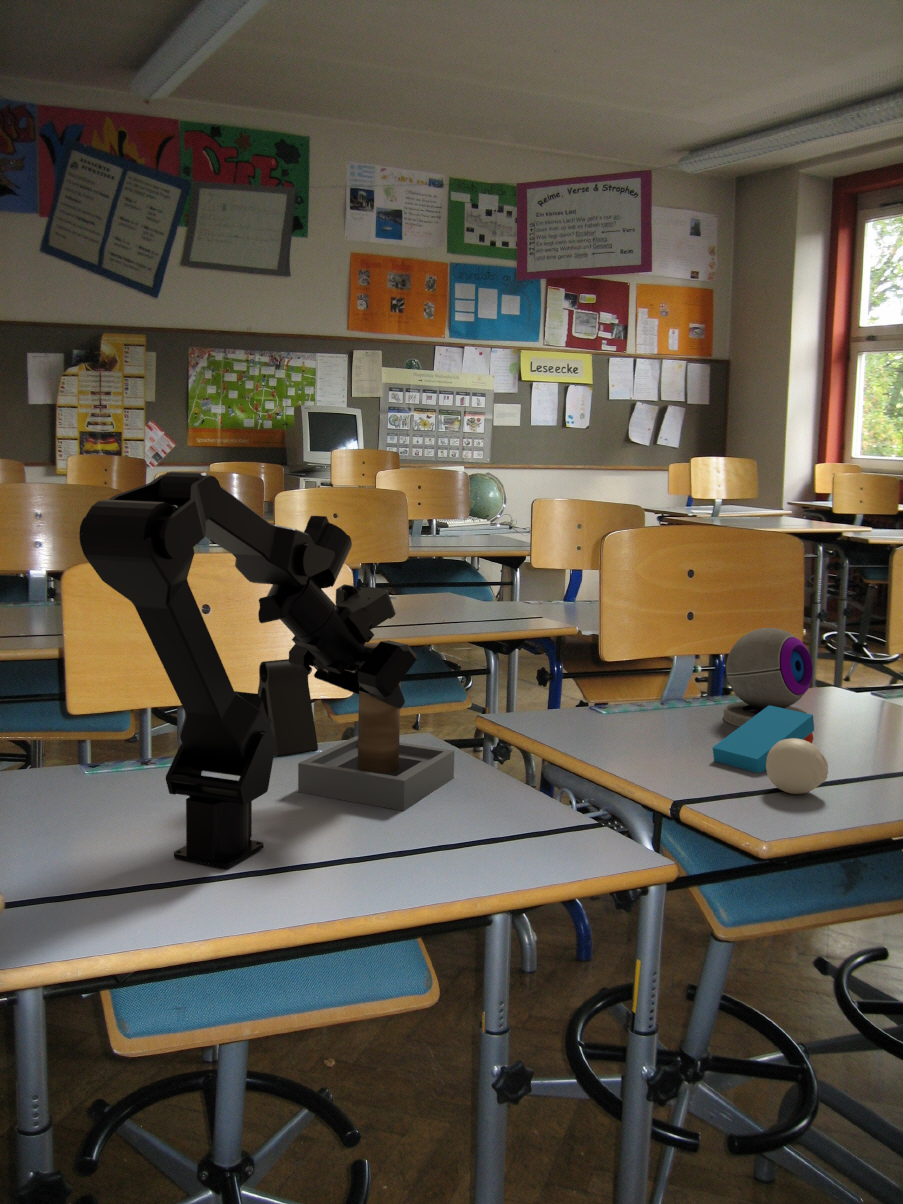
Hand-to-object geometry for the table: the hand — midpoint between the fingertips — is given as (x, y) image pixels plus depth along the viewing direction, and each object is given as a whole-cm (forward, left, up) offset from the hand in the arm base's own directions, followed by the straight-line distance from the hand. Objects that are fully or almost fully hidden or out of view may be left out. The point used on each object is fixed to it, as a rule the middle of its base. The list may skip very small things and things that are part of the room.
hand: (388, 701), depth 124 cm
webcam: (+57, -38, -10) cm, 69 cm away
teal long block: (+37, -41, -11) cm, 56 cm away
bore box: (-1, +1, -10) cm, 10 cm away
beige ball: (+21, -46, -10) cm, 51 cm away
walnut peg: (-1, +1, -8) cm, 8 cm away
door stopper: (+8, +20, -10) cm, 24 cm away
